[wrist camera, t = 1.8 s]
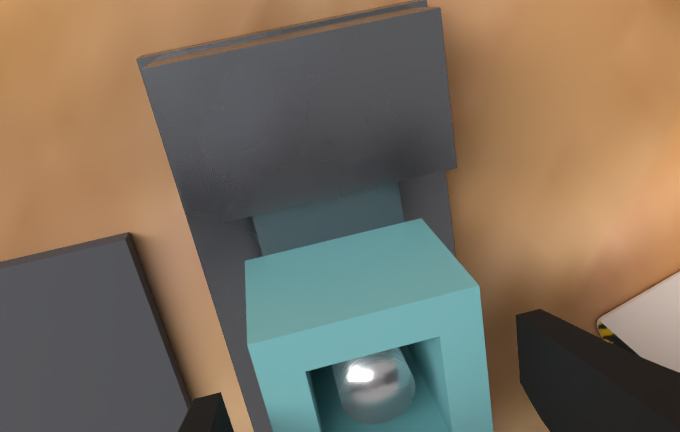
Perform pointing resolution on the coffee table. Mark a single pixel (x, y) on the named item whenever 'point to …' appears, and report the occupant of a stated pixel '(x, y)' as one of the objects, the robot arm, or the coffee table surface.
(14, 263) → the mat
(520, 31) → the coffee table surface
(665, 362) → the medicine bottle
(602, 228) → the coffee table surface
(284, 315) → the collar
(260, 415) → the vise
